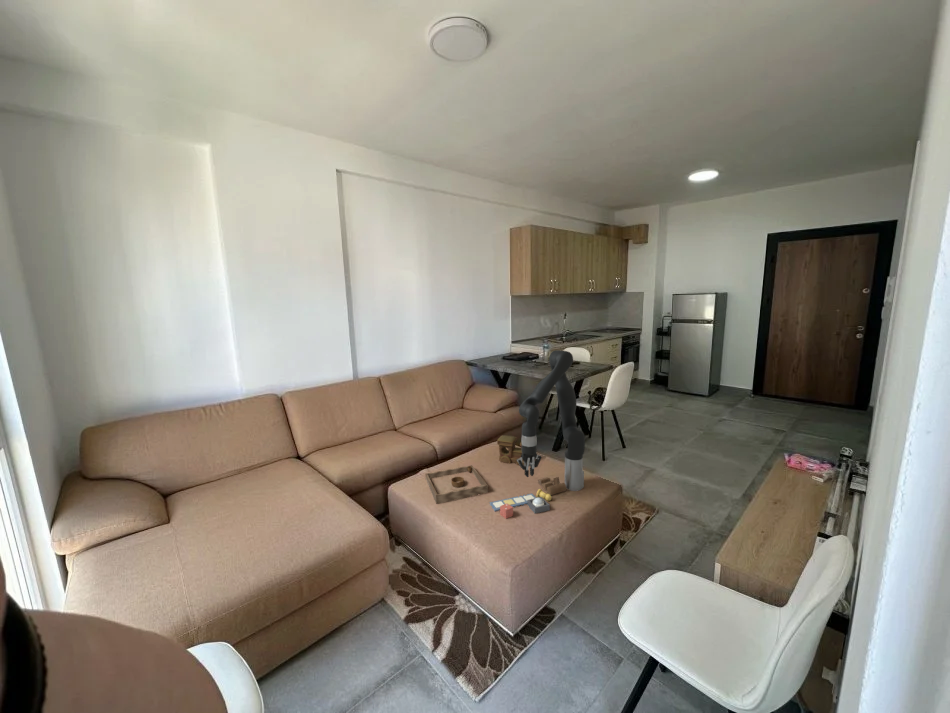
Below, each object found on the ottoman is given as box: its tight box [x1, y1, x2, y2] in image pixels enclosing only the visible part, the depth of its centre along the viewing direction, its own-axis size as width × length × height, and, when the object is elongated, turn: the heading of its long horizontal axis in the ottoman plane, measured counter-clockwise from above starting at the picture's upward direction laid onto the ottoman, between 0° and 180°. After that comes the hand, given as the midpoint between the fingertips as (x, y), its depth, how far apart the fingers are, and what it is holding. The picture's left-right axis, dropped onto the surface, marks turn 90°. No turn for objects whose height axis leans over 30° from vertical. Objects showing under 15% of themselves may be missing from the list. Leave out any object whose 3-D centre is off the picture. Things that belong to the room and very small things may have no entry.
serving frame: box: [424, 465, 489, 505], centre depth 207 cm, size 28×26×5 cm
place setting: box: [450, 465, 472, 491], centre depth 210 cm, size 18×20×6 cm
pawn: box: [535, 488, 552, 502], centre depth 193 cm, size 4×4×7 cm
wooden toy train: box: [496, 434, 530, 467], centre depth 233 cm, size 20×11×17 cm, turn 66°
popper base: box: [527, 497, 551, 514], centre depth 185 cm, size 8×8×3 cm
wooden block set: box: [537, 476, 568, 496], centre depth 201 cm, size 18×9×10 cm
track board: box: [489, 492, 537, 512], centre depth 190 cm, size 24×8×1 cm, turn 109°
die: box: [499, 504, 514, 520], centre depth 180 cm, size 4×4×4 cm
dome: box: [533, 497, 544, 507], centre depth 185 cm, size 6×6×5 cm
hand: (529, 475), depth 191 cm, fingers closed
